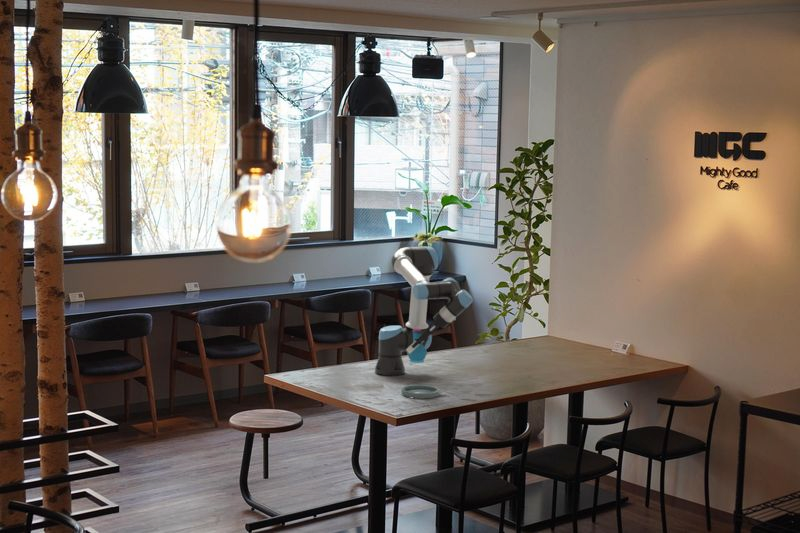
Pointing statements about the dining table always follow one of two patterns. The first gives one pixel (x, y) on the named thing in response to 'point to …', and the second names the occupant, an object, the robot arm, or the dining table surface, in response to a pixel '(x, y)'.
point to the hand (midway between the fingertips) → (410, 349)
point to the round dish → (420, 391)
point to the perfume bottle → (417, 349)
